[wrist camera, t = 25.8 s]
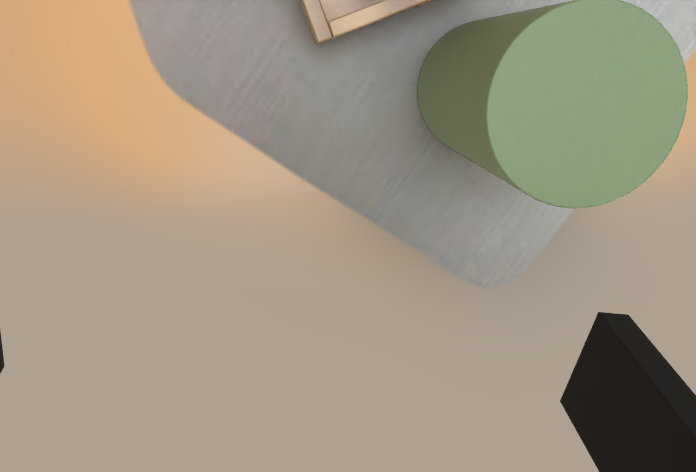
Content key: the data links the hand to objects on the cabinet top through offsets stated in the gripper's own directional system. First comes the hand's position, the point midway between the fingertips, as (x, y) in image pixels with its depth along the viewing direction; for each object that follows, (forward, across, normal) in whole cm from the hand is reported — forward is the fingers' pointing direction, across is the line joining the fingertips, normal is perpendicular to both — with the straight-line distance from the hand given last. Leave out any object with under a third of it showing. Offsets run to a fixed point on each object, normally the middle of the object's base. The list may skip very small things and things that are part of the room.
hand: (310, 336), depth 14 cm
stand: (+24, +11, +1) cm, 26 cm away
